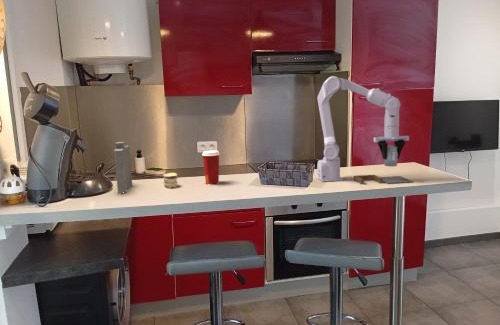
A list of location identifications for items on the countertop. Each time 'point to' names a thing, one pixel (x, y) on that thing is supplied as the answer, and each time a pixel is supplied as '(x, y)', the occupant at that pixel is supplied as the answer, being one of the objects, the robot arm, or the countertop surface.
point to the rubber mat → (395, 180)
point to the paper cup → (211, 166)
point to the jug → (391, 156)
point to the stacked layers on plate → (170, 180)
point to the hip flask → (122, 167)
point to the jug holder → (367, 178)
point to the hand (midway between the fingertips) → (390, 158)
